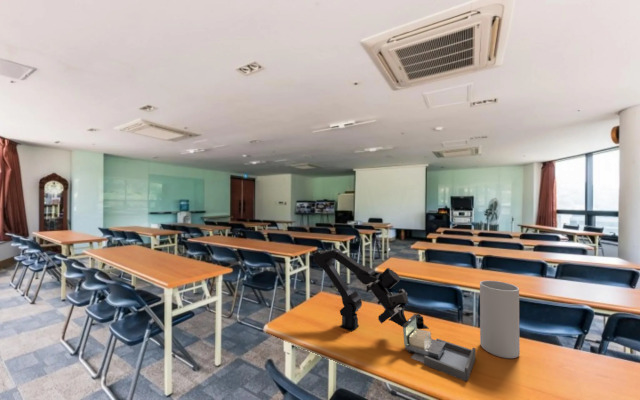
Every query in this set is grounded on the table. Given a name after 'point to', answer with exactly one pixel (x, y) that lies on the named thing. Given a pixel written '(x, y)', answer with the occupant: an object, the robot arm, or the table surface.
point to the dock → (451, 360)
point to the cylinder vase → (499, 318)
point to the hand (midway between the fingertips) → (408, 328)
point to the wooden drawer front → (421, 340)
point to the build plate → (420, 322)
